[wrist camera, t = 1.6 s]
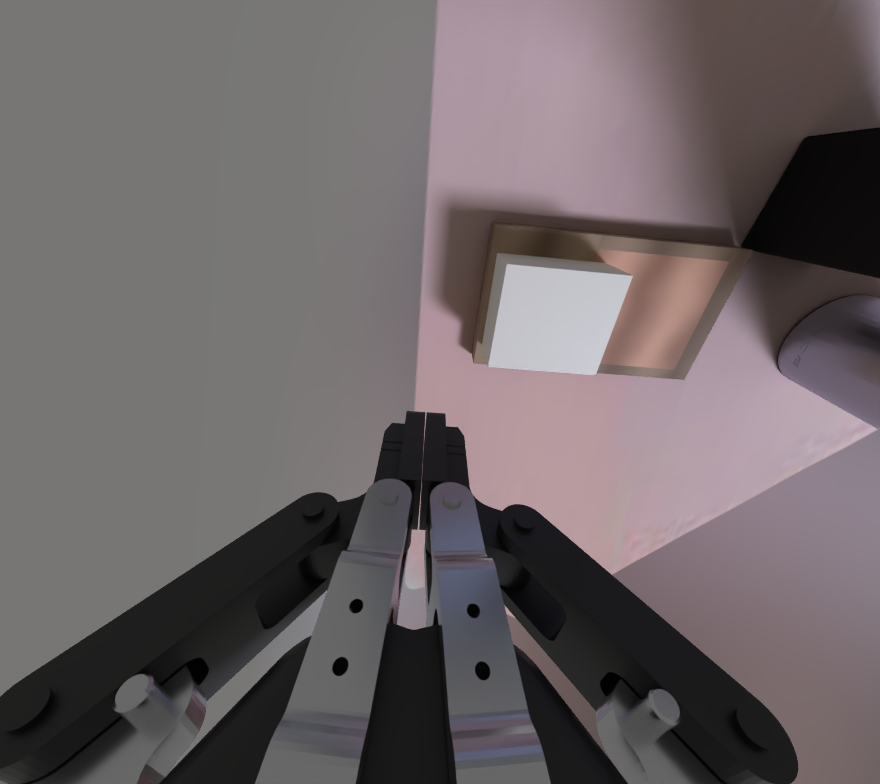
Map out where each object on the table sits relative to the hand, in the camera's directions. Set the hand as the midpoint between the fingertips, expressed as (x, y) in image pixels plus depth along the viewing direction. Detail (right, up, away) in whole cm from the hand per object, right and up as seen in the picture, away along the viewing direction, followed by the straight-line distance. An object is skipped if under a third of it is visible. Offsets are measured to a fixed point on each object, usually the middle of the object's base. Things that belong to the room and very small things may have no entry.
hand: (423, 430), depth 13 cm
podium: (+15, +10, +18) cm, 25 cm away
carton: (+9, +9, +16) cm, 21 cm away
